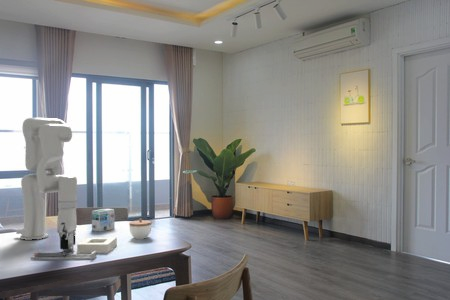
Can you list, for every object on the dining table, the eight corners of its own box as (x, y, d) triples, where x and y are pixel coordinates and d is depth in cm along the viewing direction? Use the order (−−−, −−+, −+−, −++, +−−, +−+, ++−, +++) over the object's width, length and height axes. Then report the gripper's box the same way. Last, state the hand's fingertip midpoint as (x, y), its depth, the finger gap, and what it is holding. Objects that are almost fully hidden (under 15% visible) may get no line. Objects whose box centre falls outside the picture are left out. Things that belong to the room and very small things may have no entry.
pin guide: (30, 259, 159) (30, 253, 159) (35, 257, 163) (35, 251, 163) (93, 259, 159) (92, 253, 159) (96, 256, 163) (96, 250, 163)
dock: (77, 252, 170) (77, 244, 170) (88, 245, 183) (88, 237, 183) (107, 252, 170) (107, 244, 170) (116, 245, 182) (116, 237, 182)
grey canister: (60, 253, 169) (60, 231, 169) (64, 250, 173) (64, 229, 173) (71, 253, 169) (70, 231, 169) (75, 250, 173) (74, 229, 173)
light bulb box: (99, 231, 213) (99, 211, 213) (91, 230, 216) (91, 210, 216) (115, 228, 222) (115, 208, 222) (106, 227, 226) (106, 208, 226)
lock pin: (34, 259, 160) (34, 253, 160) (36, 257, 162) (36, 251, 162) (61, 258, 160) (61, 252, 160) (63, 257, 162) (63, 251, 162)
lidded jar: (124, 239, 195) (124, 219, 195) (137, 234, 205) (137, 216, 205) (143, 241, 191) (143, 221, 191) (155, 236, 201) (155, 217, 201)
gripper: (67, 202, 180) (67, 242, 180) (49, 208, 163) (50, 252, 163) (83, 202, 180) (84, 242, 180) (68, 208, 162) (68, 252, 162)
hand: (67, 246), depth 171 cm, fingers open, 6 cm apart
